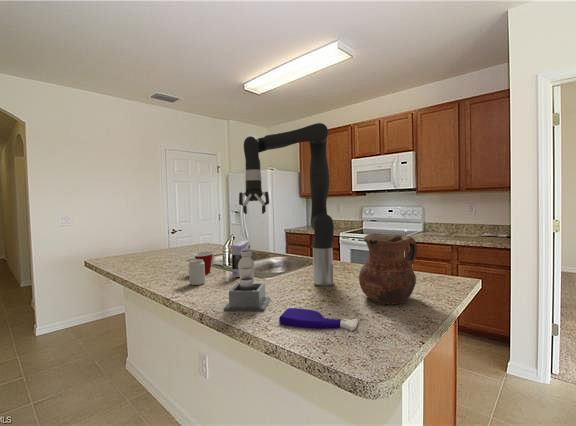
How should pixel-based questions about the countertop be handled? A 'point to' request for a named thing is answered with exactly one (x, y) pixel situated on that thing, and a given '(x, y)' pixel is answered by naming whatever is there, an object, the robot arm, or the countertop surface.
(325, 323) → the spray bottle
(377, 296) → the jug
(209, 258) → the plastic cup
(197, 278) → the can
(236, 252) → the cake pan box
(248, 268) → the plastic bottle
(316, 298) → the countertop surface
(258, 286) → the rack socket
